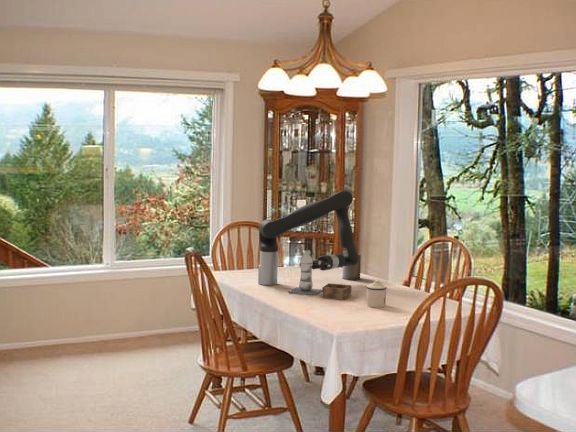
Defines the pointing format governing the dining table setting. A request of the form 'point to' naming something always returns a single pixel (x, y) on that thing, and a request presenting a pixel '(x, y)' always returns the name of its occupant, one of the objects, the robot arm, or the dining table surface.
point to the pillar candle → (352, 271)
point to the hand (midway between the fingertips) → (306, 265)
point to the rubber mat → (309, 292)
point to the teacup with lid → (376, 295)
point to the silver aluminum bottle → (306, 271)
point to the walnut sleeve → (336, 291)
